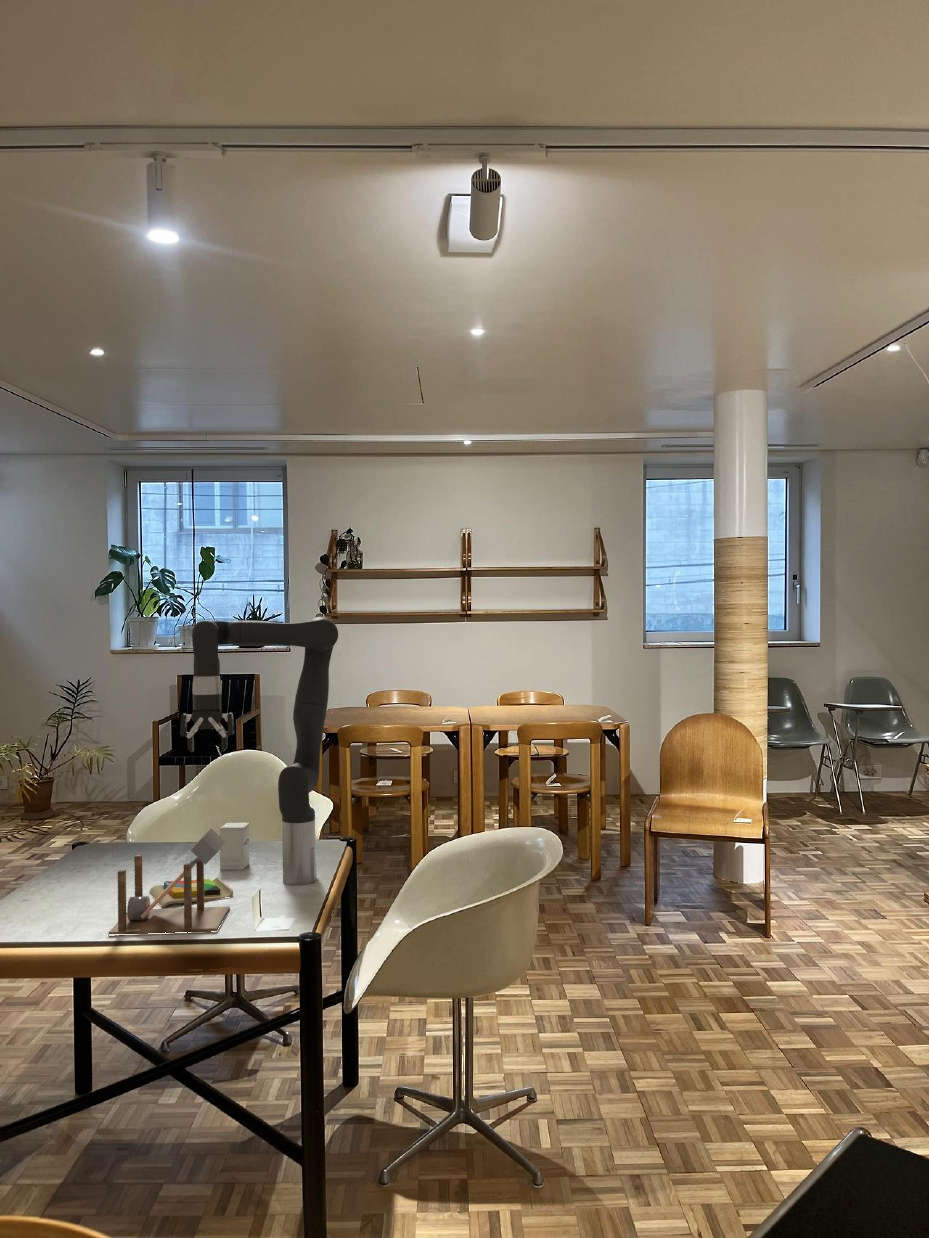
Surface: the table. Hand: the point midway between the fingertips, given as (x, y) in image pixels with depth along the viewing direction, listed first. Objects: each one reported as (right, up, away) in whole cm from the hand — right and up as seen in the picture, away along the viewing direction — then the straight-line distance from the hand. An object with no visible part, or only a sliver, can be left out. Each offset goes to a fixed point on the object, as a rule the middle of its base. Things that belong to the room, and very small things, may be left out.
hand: (207, 751), depth 254 cm
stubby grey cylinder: (-7, -34, -29) cm, 45 cm away
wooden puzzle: (-3, -39, -4) cm, 39 cm away
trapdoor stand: (-1, -38, -28) cm, 47 cm away
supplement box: (+2, -39, +24) cm, 45 cm away
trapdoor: (+3, -28, -28) cm, 40 cm away
